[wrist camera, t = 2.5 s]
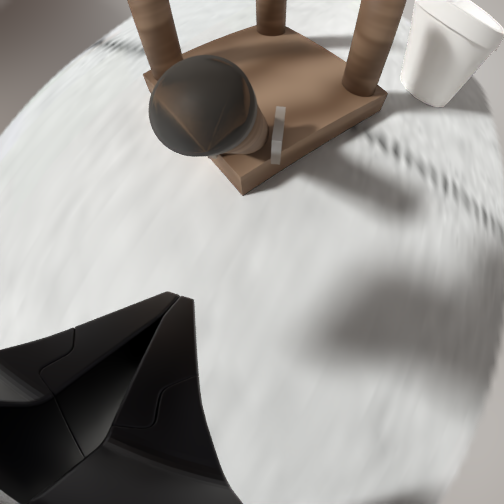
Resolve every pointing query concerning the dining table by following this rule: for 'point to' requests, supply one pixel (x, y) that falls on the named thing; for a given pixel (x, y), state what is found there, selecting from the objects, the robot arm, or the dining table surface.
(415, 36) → the foam cup
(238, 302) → the dining table surface
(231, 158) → the stool
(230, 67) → the hinged leg
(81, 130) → the dining table surface
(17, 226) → the dining table surface
